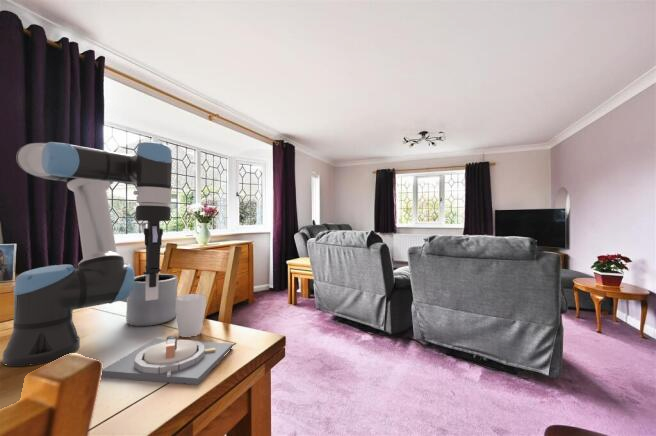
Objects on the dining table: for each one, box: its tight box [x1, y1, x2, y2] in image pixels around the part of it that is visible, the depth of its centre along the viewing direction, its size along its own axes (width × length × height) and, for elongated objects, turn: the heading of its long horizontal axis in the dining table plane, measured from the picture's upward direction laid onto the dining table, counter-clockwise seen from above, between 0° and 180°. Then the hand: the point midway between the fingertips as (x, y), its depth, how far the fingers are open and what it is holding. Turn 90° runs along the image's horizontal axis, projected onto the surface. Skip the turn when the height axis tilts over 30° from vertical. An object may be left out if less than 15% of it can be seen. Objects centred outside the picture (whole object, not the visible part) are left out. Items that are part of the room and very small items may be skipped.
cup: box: [175, 293, 207, 338], centre depth 97 cm, size 9×9×12 cm
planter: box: [125, 273, 179, 327], centre depth 109 cm, size 16×16×16 cm
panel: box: [101, 338, 234, 386], centre depth 78 cm, size 24×20×3 cm
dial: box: [144, 335, 197, 365], centre depth 77 cm, size 12×12×5 cm
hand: (151, 299), depth 75 cm, fingers closed
